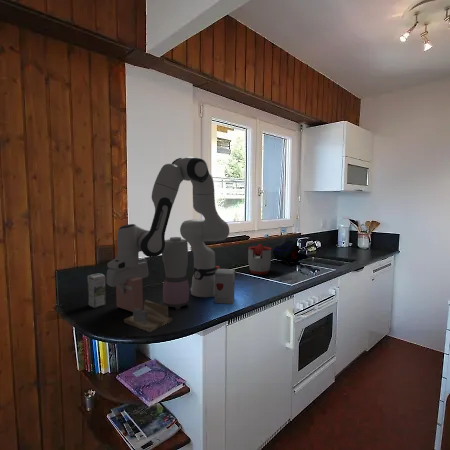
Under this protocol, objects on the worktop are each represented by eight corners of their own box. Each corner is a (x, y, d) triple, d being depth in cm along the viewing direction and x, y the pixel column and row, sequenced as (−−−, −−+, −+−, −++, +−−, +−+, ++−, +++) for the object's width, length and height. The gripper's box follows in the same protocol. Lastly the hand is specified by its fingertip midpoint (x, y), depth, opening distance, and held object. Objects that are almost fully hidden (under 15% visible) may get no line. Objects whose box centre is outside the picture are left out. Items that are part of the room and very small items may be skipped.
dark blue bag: (286, 272, 241) (318, 269, 218) (263, 263, 228) (295, 259, 204) (289, 247, 249) (320, 242, 225) (267, 237, 235) (297, 231, 212)
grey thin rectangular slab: (135, 319, 122) (135, 307, 121) (147, 323, 118) (147, 311, 117) (133, 320, 121) (133, 308, 120) (145, 324, 117) (144, 312, 116)
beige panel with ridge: (147, 313, 132) (147, 298, 131) (172, 321, 123) (172, 306, 123) (124, 322, 122) (123, 307, 121) (149, 332, 114) (149, 315, 113)
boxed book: (125, 303, 141) (125, 274, 140) (143, 308, 134) (142, 278, 133) (116, 306, 137) (115, 276, 136) (133, 312, 130) (132, 281, 129)
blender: (194, 304, 143) (194, 237, 140) (175, 311, 134) (174, 240, 130) (172, 297, 153) (172, 234, 150) (153, 303, 144) (152, 237, 140)
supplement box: (214, 303, 145) (214, 272, 143) (217, 297, 154) (217, 268, 152) (232, 304, 144) (233, 273, 142) (234, 298, 152) (235, 269, 151)
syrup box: (99, 302, 145) (98, 272, 143) (106, 305, 141) (105, 274, 140) (88, 305, 141) (86, 275, 139) (94, 308, 137) (93, 277, 135)
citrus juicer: (244, 275, 196) (245, 245, 194) (250, 269, 212) (250, 241, 210) (268, 277, 191) (269, 246, 189) (272, 271, 208) (273, 242, 206)
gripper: (142, 256, 144) (142, 284, 145) (103, 264, 127) (104, 296, 128) (151, 257, 140) (151, 286, 142) (112, 266, 123) (114, 299, 125)
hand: (129, 291), depth 135 cm, fingers closed on boxed book, 5 cm apart
